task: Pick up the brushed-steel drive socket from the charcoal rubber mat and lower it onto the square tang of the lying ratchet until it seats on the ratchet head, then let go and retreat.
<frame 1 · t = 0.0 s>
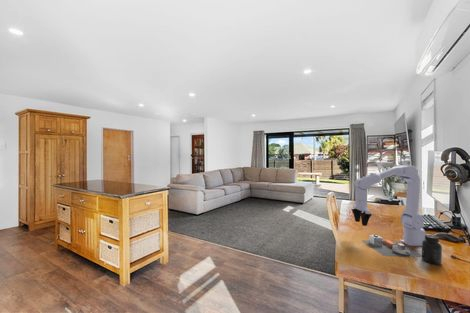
hand: (360, 223, 124), 10 cm above the table, fingers open, 7 cm apart
mat: (391, 248, 115), on the table
socket: (375, 244, 119), resting on mat
supplement bottle: (431, 262, 100), on the table
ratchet: (401, 252, 109), resting on mat
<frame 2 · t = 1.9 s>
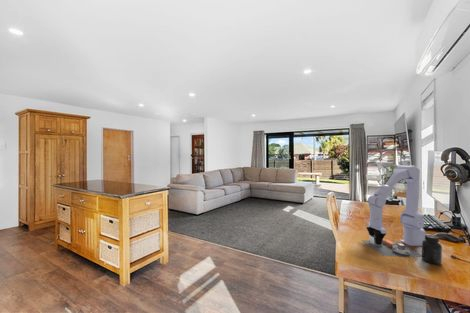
hand: (375, 242, 119), 1 cm above the table, fingers closed on socket, 5 cm apart
socket: (375, 244, 119), resting on mat, touching gripper
everything else where it was.
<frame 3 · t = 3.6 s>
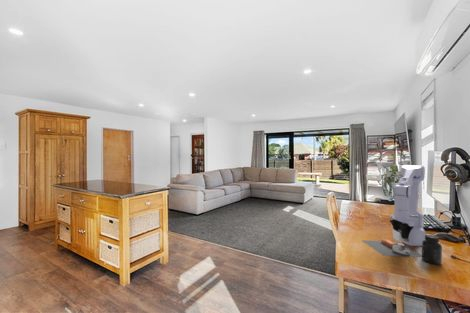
hand: (401, 236, 109), 8 cm above the table, fingers closed on socket, 5 cm apart
socket: (400, 239, 109), point 7 cm above the table, touching gripper
everything else where it was.
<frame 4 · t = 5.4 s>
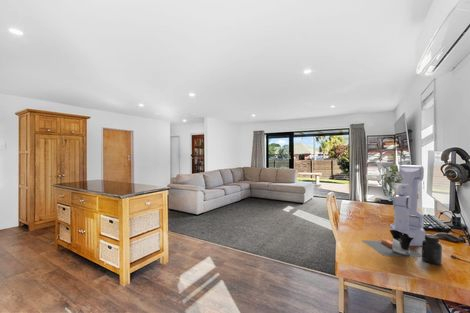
hand: (401, 247, 109), 3 cm above the table, fingers closed on socket, 5 cm apart
socket: (400, 248, 109), point 2 cm above the table, touching gripper, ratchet
everything else where it was.
when the fingers open (3 cm above the table, at t = 5.4 s): socket stays where it is, resting on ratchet.
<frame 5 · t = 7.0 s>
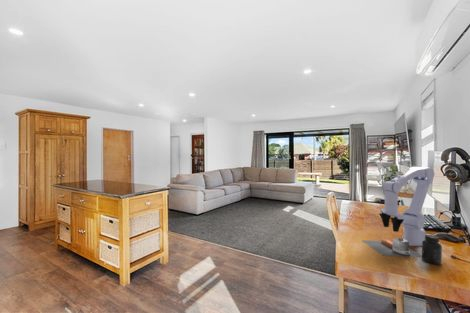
hand: (390, 229, 118), 9 cm above the table, fingers open, 7 cm apart
socket: (400, 248, 109), point 2 cm above the table, touching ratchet
everything else where it was.
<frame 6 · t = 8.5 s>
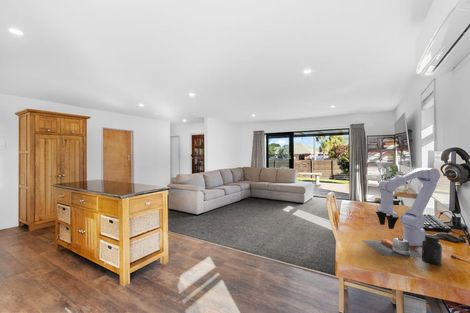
hand: (386, 226, 122), 9 cm above the table, fingers open, 7 cm apart
nothing on the table moved.
at the end: socket 0.3 cm from the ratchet (horizontally); socket point 2.3 cm above the table; the gripper is holding nothing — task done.
